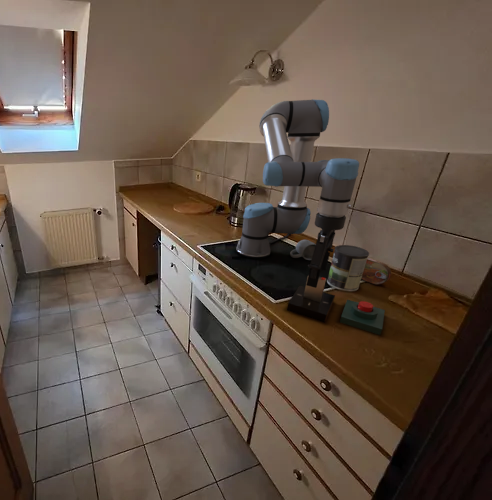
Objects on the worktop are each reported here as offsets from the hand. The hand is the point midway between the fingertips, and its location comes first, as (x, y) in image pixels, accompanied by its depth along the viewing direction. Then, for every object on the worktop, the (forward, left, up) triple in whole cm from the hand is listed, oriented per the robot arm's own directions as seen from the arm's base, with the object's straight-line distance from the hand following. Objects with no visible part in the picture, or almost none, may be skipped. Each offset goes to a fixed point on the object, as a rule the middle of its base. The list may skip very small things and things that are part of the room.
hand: (316, 277), depth 96 cm
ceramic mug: (-41, -12, -11) cm, 44 cm away
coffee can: (-23, +6, -11) cm, 26 cm away
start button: (-2, +14, -7) cm, 16 cm away
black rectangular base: (0, 0, -11) cm, 11 cm away
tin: (-33, +12, -11) cm, 37 cm away
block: (-2, +14, -11) cm, 18 cm away
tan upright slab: (0, 0, -8) cm, 8 cm away
